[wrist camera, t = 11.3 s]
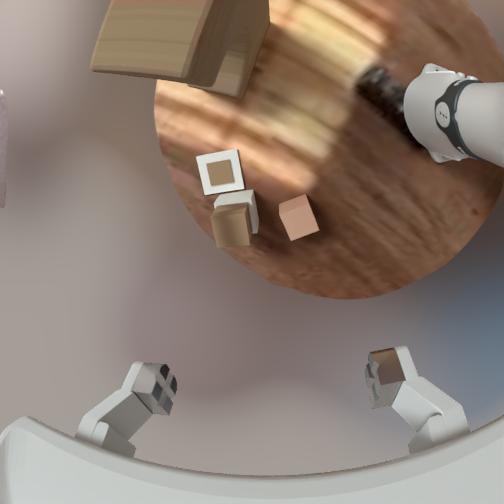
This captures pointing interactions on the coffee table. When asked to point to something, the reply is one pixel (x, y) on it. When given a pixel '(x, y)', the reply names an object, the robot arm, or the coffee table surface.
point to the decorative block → (184, 41)
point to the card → (220, 171)
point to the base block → (241, 198)
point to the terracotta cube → (298, 217)
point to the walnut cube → (232, 225)
